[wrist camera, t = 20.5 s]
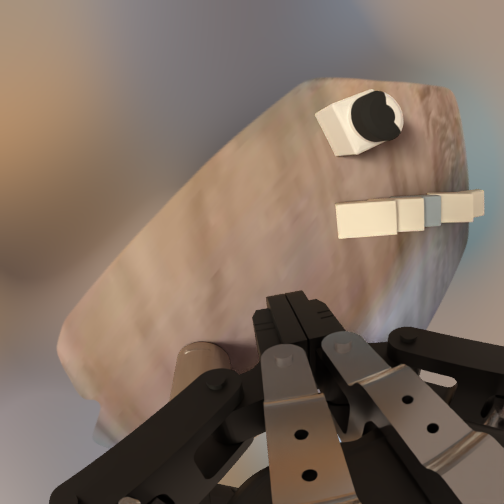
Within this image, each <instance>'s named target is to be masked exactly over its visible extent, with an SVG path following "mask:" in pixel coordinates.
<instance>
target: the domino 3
mask: <svg viewBox="0 0 504 504" xmlns="http://www.w3.org/2000/svg"><path fill="white" fill-rule="evenodd" d="M404 197H422V198H424V227H432V226H441V196H439V195H416V196H396V197H390V198H404Z"/></svg>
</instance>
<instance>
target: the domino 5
mask: <svg viewBox="0 0 504 504" xmlns="http://www.w3.org/2000/svg"><path fill="white" fill-rule="evenodd" d="M461 192H470V193H472V194H473V218H474V217H478V216H482V215H484V190H479V189H475V190H468V191H461Z"/></svg>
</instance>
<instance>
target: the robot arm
mask: <svg viewBox="0 0 504 504" xmlns="http://www.w3.org/2000/svg"><path fill="white" fill-rule="evenodd" d="M266 302H267V309H261V310H256V311H255V313H254V315H253V317H252V319H253V325H254V331H255V338H256V344H257V349H258V354H259V359H260V361H259V363H258V364H257V365H256V366H255V367H254V368H253V369H251V370H250V371H248V372H246V373H243V374H241V375H239V374H238V373H237V372H235V371H233V370H231V367H230V359H229V357H228V355H227V353H226V352H225V351H224V350H223V349H222V348H220V347H219V346H217V345H215V344H211V343H207V342H196V343H192V344H189V345H187V346H186V347H184V348H183V349H182V350H181V351H180V352H179V354H178V357H177V362H176V367H175V372H174V377H173V383H172V388H171V394H170V400H169V402H168V403H167V404H166V405H165V406H164V407H162V408H161V409H160V410H159V411H158V412H156V413H155V414H154V415H153V416H151V417H150V418H149V419H148V420H147V421H145V422H144V423H143V424H142V425H140V426H139V427H138V428H137V429H135V430H134V431H133V432H132V433H130V434H129V435H128V436H126V437H125V438H124V439H123V440H121V441H120V442H119V443H117V444H116V445H115V446H114V447H112V448H111V449H110V450H108V451H107V452H106V453H104V454H103V455H102V456H100V457H99V458H98V459H96V460H95V461H94V462H92V463H91V464H89V465H88V466H87V467H85V468H84V469H83V470H81V471H80V472H78V473H77V474H76V475H74V476H72V477H71V478H70V479H68V480H67V481H65V482H64V483H62V484H61V485H59V486H58V487H57V488H56V489H55V490H54V491H53V492H52V494H51V496H50V500H49V504H504V346H499V345H493V344H488V343H483V342H478V341H473V340H469V339H464V338H459V337H453V336H450V335H445V334H440V333H436V332H431V331H427V330H423V329H418V328H414V327H401V328H397V329H395V330H393V331H392V332H391V333H390V334H389V337H388V342H380V343H367V342H366V341H365V340H364V339H363V338H362V337H361V336H360V335H358V334H356V333H353V332H348V331H345V329H344V328H343V327H342V325H341V324H340V323H339V321H338V320H337V319H336V317H335V316H334V315H333V313H332V312H331V311H330V309H329V308H328V307H327V305H326V304H325V303H323V302H321V301H319V300H317V299H314V300H308V298H307V297H306V295H305V294H304V292H303V291H302V290H301V291H295V292H290V293H285V294H279V295H274V296H268V297H266ZM421 369H422V370H426V371H429V372H434V373H438V374H441V375H445V376H449V377H452V378H454V379H455V380H456V381H457V383H456V384H455V385H454V386H453V387H444V386H440V385H436V384H432V383H428V382H425V381H423V380H422V379H421V378H420V377H419V375H420V371H421ZM317 389H319V390H320V392H321V393H318V390H317ZM264 432H266V437H267V448H268V458H269V466H268V467H266V468H264V469H262V470H260V471H259V472H257V473H255V474H254V475H253V476H251V477H250V478H249V479H247V480H246V481H245V482H244V483H243V484H242V485H241V486H240V487H239V488H236V487H231V486H225V485H221V484H217V483H218V482H219V481H220V480H221V479H222V478H223V477H224V476H225V475H226V473H227V472H228V471H229V470H230V469H231V468H232V466H233V465H234V464H235V463H236V462H237V461H238V459H239V458H240V457H241V456H242V455H243V453H244V452H245V451H246V450H247V448H248V447H249V446H250V445H251V443H252V442H253V439H254V437H255V436H257V435H259V434H261V433H264ZM337 434H338V435H337ZM338 436H339V438H340V439H341V442H340V441H339V438H338Z"/></svg>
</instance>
